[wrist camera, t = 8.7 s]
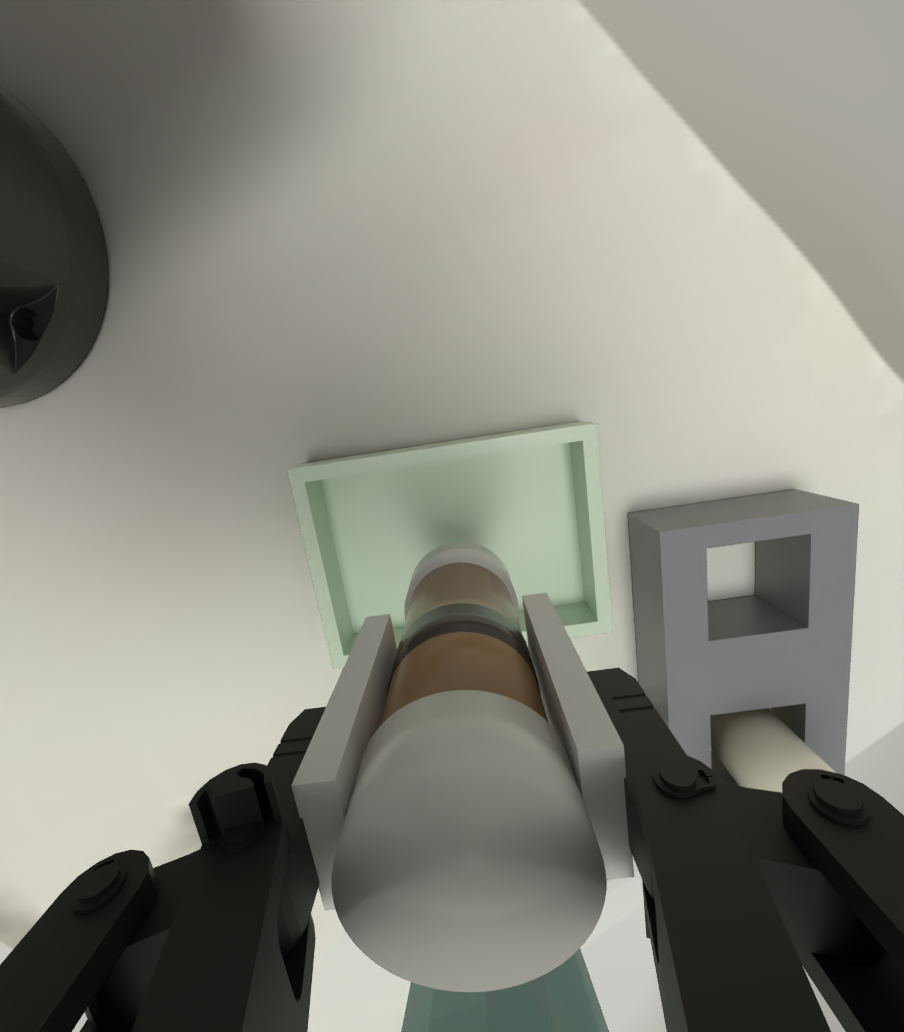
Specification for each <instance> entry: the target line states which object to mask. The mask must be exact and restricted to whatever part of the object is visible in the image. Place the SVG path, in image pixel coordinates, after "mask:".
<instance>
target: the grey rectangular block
mask: <svg viewBox="0 0 904 1032" xmlns="http://www.w3.org/2000/svg"><path fill="white" fill-rule="evenodd" d="M858 516H859V504H857V503H853V502H848V501H844V500H840V499H835V498H831V497H827V496H822V495H818V494H814V493H810V492H805V491H801V490H797V489H792V490H785V491H778V492H771V493H764V494H757V495H750V496H743V497H736V498H729V499H722V500H715V501H708V502H701V503H694V504H687V505H680V506H673V507H666V508H659V509H652V510H645V511H638V512H631V513H628V527H629V543H630V559H631V574H632V590H633V606H634V621H635V637H636V653H637V669H638V683H639V685H640V686H641V688H642V689H643V691H644V692H645V695H646V696H647V697H648V698H649V700H650V701H651V703H652V704H653V706H654V709H656V710H657V711H658V713H659V714H660V716H661V717H662V719H663V720H664V722H665V723H666V725H667V726H668V728H669V729H670V731H671V732H672V734H673V735H674V737H675V738H676V740H677V741H678V743H679V744H680V746H681V747H682V749H683V750H684V752H685V753H686V754H687V756H690V757H692V758H694V759H697V760H699V761H701V762H702V763H704V764H705V765H706V766H708V767H709V768H710V769H712V770H713V771H714V772H715V773H716V775H717V776H718V778H719V779H720V780H721V781H724V782H726V783H729V784H732V785H737V786H739V785H738V784H737V782H736V781H735V780H734V778H733V777H732V776H731V774H730V773H729V772H728V771H727V769H726V768H725V767H724V765H723V764H722V763H721V761H720V760H719V759H718V757H717V756H716V755H715V753H714V752H713V751H711V725H710V715H717V714H725V713H733V712H741V711H749V710H757V709H765V708H771V711H772V712H773V713H774V714H775V715H776V716H777V717H778V718H779V719H780V720H781V721H782V722H783V723H784V724H785V725H786V726H788V727H789V728H790V729H791V730H792V731H793V732H794V733H795V734H796V735H797V736H798V737H799V738H800V739H801V740H802V741H803V742H804V743H805V744H806V745H808V746H809V747H810V748H811V749H812V750H813V751H814V752H815V753H816V754H817V755H818V756H819V757H820V758H821V759H822V760H823V761H824V762H825V763H826V764H828V765H829V766H830V767H831V768H832V769H833V770H834V771H835V772H836V773H838V774H842V775H844V771H845V753H846V735H847V716H848V698H849V680H850V662H851V643H852V625H853V607H854V589H855V571H856V552H857V534H858ZM748 542H755V595H753V596H746V597H739V598H731V599H724V600H716V601H709V602H708V599H707V557H706V548H712V547H719V546H727V545H734V544H741V543H748Z"/></svg>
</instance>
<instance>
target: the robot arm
mask: <svg viewBox="0 0 904 1032" xmlns="http://www.w3.org/2000/svg"><path fill="white" fill-rule="evenodd" d="M106 294H107V258H106V250H105V243H104V238H103V233H102V229H101V225H100V221H99V218H98V215H97V212H96V209H95V206H94V204H93V201H92V199H91V196H90V194H89V192H88V189H87V187H86V185H85V183H84V181H83V179H82V177H81V175H80V174H79V172H78V170H77V168H76V166H75V165H74V163H73V162H72V160H71V158H70V157H69V155H68V154H67V153H66V151H65V150H64V148H63V147H62V145H61V144H60V143H59V142H58V140H57V139H56V138H55V137H54V135H53V134H52V133H51V132H50V131H49V130H48V128H47V127H46V126H45V125H44V124H43V123H42V122H41V121H40V120H39V119H38V118H37V117H36V116H35V115H34V114H33V113H32V112H31V111H30V110H29V109H27V108H26V107H25V106H24V105H23V104H22V103H20V102H19V101H18V100H17V99H15V98H14V97H13V96H11V95H10V94H9V93H7V92H6V91H4V90H3V89H2V88H0V407H8V406H13V405H17V404H21V403H24V402H27V401H30V400H32V399H35V398H37V397H39V396H41V395H43V394H45V393H47V392H49V391H50V390H52V389H53V388H55V387H56V386H58V385H59V384H60V383H62V382H63V381H64V380H65V379H66V378H67V377H68V376H69V375H70V374H71V373H72V372H73V371H74V370H75V369H76V368H77V367H78V365H79V364H80V363H81V361H82V360H83V359H84V357H85V356H86V354H87V353H88V351H89V349H90V347H91V345H92V343H93V342H94V339H95V337H96V335H97V332H98V330H99V326H100V323H101V320H102V316H103V312H104V308H105V302H106ZM522 600H523V608H524V616H525V624H526V632H527V640H528V648H529V653H530V656H531V659H532V662H533V666H534V669H535V672H536V675H537V679H538V682H539V687H540V696H541V699H542V702H543V706H544V709H545V712H546V716H547V719H548V722H549V724H550V725H551V726H552V727H553V728H554V729H555V731H556V732H557V734H558V735H559V736H560V738H561V739H562V741H563V743H564V745H565V747H566V749H567V751H568V754H569V757H570V760H571V764H572V767H573V770H574V773H575V776H576V779H577V782H578V785H579V788H580V791H581V794H582V797H583V800H584V803H585V805H586V808H587V811H588V814H589V817H590V820H591V823H592V826H593V830H594V833H595V836H596V839H597V842H598V845H599V848H600V851H601V854H602V857H603V860H604V865H605V870H606V880H608V879H617V878H626V877H634V871H633V858H632V855H633V857H634V860H635V862H636V865H637V867H638V870H639V872H640V875H641V877H642V881H643V895H644V908H645V922H646V936H647V938H650V939H651V944H652V950H653V956H654V962H655V967H656V973H657V979H658V984H659V990H660V995H661V1001H662V1007H663V1012H664V1018H665V1024H666V1029H667V1032H831V1031H830V1028H829V1026H828V1024H827V1021H826V1019H825V1017H824V1015H823V1012H822V1010H821V1008H820V1006H819V1003H818V1001H817V999H816V996H815V994H814V992H813V989H812V988H811V985H810V983H809V980H808V978H807V976H806V974H805V971H804V969H805V970H806V972H807V973H808V975H809V976H810V978H811V979H812V981H813V982H814V984H815V985H816V987H817V988H818V990H819V992H820V993H821V995H822V996H823V997H824V999H825V1000H826V1002H827V1004H828V1005H829V1007H830V1008H831V1010H832V1011H833V1013H834V1014H835V1016H836V1017H837V1019H838V1020H839V1022H840V1024H841V1025H842V1027H843V1028H844V1029H845V1031H846V1032H904V815H903V814H901V813H900V812H899V811H898V810H897V809H895V808H894V807H893V806H892V805H891V804H890V803H888V802H887V801H886V800H885V799H884V798H883V797H881V796H880V795H879V794H877V793H876V792H874V791H873V790H871V789H870V788H869V787H867V786H866V785H864V784H863V783H860V782H858V781H856V780H853V779H851V778H849V777H847V776H844V775H842V774H838V773H834V772H830V771H826V770H822V769H801V770H798V771H796V772H793V773H790V774H788V776H787V777H786V778H785V780H784V781H783V782H782V793H781V792H774V791H767V790H760V789H753V788H746V787H741V786H737V785H732V784H729V783H726V782H724V781H721V780H720V779H719V778H718V776H717V775H716V773H715V772H714V771H713V770H712V769H710V768H709V767H708V766H706V765H705V764H704V763H702V762H701V761H699V760H697V759H694V758H692V757H690V756H687V754H686V753H685V752H684V750H683V749H682V747H681V746H680V744H679V743H678V741H677V740H676V738H675V737H674V735H673V734H672V732H671V731H670V729H669V728H668V726H667V725H666V723H665V722H664V720H663V719H662V717H661V716H660V714H659V713H658V711H657V710H656V709H654V706H653V704H652V703H651V701H650V700H649V698H648V697H647V696H646V695H645V692H644V691H643V689H642V688H641V686H640V685H639V683H638V682H637V680H636V679H635V678H633V677H632V676H630V675H629V674H627V673H626V672H624V671H623V670H621V669H620V668H613V669H605V670H597V671H589V672H587V671H586V669H585V668H584V666H583V664H582V662H581V660H580V658H579V656H578V654H577V652H576V650H575V648H574V646H573V644H572V642H571V640H570V638H569V636H568V634H567V632H566V630H565V628H564V626H563V624H562V622H561V620H560V618H559V616H558V614H557V612H556V610H555V608H554V606H553V604H552V602H551V600H550V598H549V596H548V594H547V592H546V593H539V594H532V595H524V596H522ZM396 652H397V647H396V642H395V637H394V632H393V626H392V621H391V616H390V614H385V615H377V616H370V617H366V618H365V621H364V623H363V625H362V627H361V630H360V632H359V634H358V636H357V639H356V641H355V643H354V645H353V648H352V650H351V652H350V654H349V657H348V659H347V661H346V663H345V666H344V668H343V670H342V672H341V675H340V677H339V679H338V681H337V684H336V686H335V688H334V690H333V693H332V695H331V697H330V699H329V702H328V704H327V706H326V707H320V708H313V709H305V710H304V711H303V712H302V713H301V714H300V715H299V716H298V717H297V718H295V719H294V720H293V721H292V722H291V723H290V724H289V726H288V728H287V730H286V731H285V733H284V735H283V737H282V739H281V743H280V744H279V745H278V746H277V748H276V750H275V752H274V754H273V758H271V759H270V761H269V763H268V765H267V766H266V765H263V764H259V763H248V764H241V765H238V766H235V767H233V768H230V769H228V770H225V771H223V772H222V773H220V774H219V775H217V776H215V777H214V778H212V779H210V780H209V781H208V782H207V783H206V784H205V785H204V786H203V787H202V788H200V789H199V790H198V791H197V793H196V794H195V795H194V797H193V798H192V800H191V801H190V803H189V806H190V809H191V812H192V816H193V819H194V822H195V825H196V828H197V831H198V834H199V837H200V840H201V843H202V846H201V849H200V850H198V851H195V852H193V853H191V854H189V855H186V856H184V857H181V858H179V859H176V860H173V861H171V862H168V863H166V864H163V865H161V866H158V867H155V868H153V867H152V864H151V862H150V859H149V857H148V856H147V855H146V854H145V853H144V852H143V851H138V850H128V851H124V852H120V853H116V854H114V855H112V856H110V857H108V858H106V859H104V860H102V861H100V862H98V863H96V864H95V865H93V866H92V867H90V868H89V869H88V870H86V871H85V872H84V873H82V874H81V875H79V876H78V877H77V878H76V879H75V880H74V881H73V882H72V883H71V884H70V885H69V886H68V887H67V888H66V889H65V890H64V891H63V892H62V893H61V894H60V895H59V896H58V898H57V899H56V900H55V901H54V902H53V904H52V905H51V906H50V907H49V908H48V909H47V911H46V912H45V913H44V914H43V915H42V916H41V918H40V919H39V920H38V921H37V922H36V924H35V925H34V926H33V927H32V928H31V929H30V931H29V932H28V933H27V934H26V935H25V936H24V938H23V939H22V940H21V941H20V942H19V944H18V945H17V946H16V947H15V948H14V949H13V951H12V952H11V953H10V954H9V955H8V956H7V958H6V959H5V960H4V961H3V962H2V963H1V965H0V1032H72V1030H73V1029H74V1027H75V1025H76V1024H77V1023H78V1021H79V1019H80V1018H81V1016H82V1015H83V1013H84V1012H85V1013H86V1016H87V1018H88V1019H87V1021H86V1023H85V1024H84V1026H83V1028H82V1029H81V1030H80V1032H307V1029H308V1018H309V1006H310V995H311V983H312V972H313V960H314V949H315V929H314V923H313V919H312V916H311V911H312V907H313V904H314V900H315V897H316V894H317V890H318V887H319V891H320V895H321V898H322V902H323V906H324V909H325V910H332V909H335V906H334V902H333V896H332V887H331V875H332V869H333V862H334V858H335V855H336V851H337V847H338V844H339V840H340V837H341V833H342V829H343V826H344V822H345V818H346V815H347V811H348V807H349V804H350V800H351V796H352V793H353V789H354V785H355V782H356V778H357V774H358V771H359V767H360V764H361V760H362V757H363V754H364V751H365V749H366V747H367V745H368V743H369V741H370V739H371V738H372V736H373V735H374V733H375V732H376V731H377V729H378V728H379V727H380V725H381V721H382V717H383V713H384V709H385V705H386V701H387V690H388V684H389V680H390V676H391V672H392V668H393V664H394V660H395V656H396ZM803 967H804V969H803Z"/></svg>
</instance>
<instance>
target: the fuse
mask: <svg viewBox="0 0 904 1032" xmlns="http://www.w3.org/2000/svg"><path fill="white" fill-rule="evenodd" d="M710 725H711V751H713V752H714V753H715V755H716V756H717V757H718V759H719V760H720V761H721V763H722V764H723V765H724V767H725V768H726V769H727V771H728V772H729V773H730V774H731V776H732V777H733V778H734V780H735V781H736V782H737V784H738V785H739V786H741V787H746V788H753V789H760V790H767V791H774V792H781V793H782V782H783V781H784V780H785V778H786V777H787V776H788V774H790V773H793V772H796V771H798V770H801V769H822V770H826V771H830V772H834V773H836V772H835V771H834V770H833V769H832V768H831V767H830V766H829V765H828V764H826V763H825V762H824V761H823V760H822V759H821V758H820V757H819V756H818V755H817V754H816V753H815V752H814V751H813V750H812V749H811V748H810V747H809V746H808V745H806V744H805V743H804V742H803V741H802V740H801V739H800V738H799V737H798V736H797V735H796V734H795V733H794V732H793V731H792V730H791V729H790V728H789V727H788V726H786V725H785V724H784V723H783V722H782V721H781V720H780V719H779V718H778V717H777V716H776V715H775V714H774V713H773V712H772V711H771V708H765V709H757V710H749V711H741V712H733V713H725V714H717V715H710Z"/></svg>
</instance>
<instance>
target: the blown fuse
mask: <svg viewBox="0 0 904 1032" xmlns="http://www.w3.org/2000/svg"><path fill="white" fill-rule="evenodd" d="M518 612H519V609H518V600H517V596H516V593H515V590H514V587H513V584H512V581H511V578H510V575H509V572H508V570H507V568H506V566H505V565H504V563H503V562H502V560H501V559H500V558H499V557H498V556H497V555H496V554H494V553H493V552H492V551H490V550H489V549H487V548H485V547H483V546H481V545H478V544H475V543H470V542H452V543H447V544H444V545H441V546H439V547H437V548H435V549H433V550H432V551H430V552H429V553H427V554H426V555H425V556H424V557H423V558H422V559H421V560H420V562H419V563H418V565H417V566H416V568H415V570H414V572H413V574H412V578H411V581H410V585H409V588H408V592H407V596H406V600H405V608H404V613H405V620H406V623H405V627H404V631H403V635H402V639H401V641H400V643H399V646H398V649H397V652H396V656H395V660H394V664H393V668H392V672H391V676H390V680H389V684H388V690H387V701H386V705H385V709H384V713H383V717H382V721H381V725H380V727H379V728H378V729H377V731H376V732H375V733H374V735H373V736H372V738H371V739H370V741H369V743H368V745H367V747H366V749H365V751H364V754H363V757H362V760H361V764H360V767H359V771H358V774H357V778H356V782H355V785H354V789H353V793H352V796H351V800H350V804H349V807H348V811H347V815H346V818H345V822H344V826H343V829H342V833H341V837H340V840H339V844H338V847H337V851H336V855H335V858H334V862H333V869H332V875H331V887H332V896H333V902H334V906H335V909H336V912H337V915H338V917H339V920H340V922H341V923H342V925H343V927H344V929H345V931H346V932H347V934H348V935H349V937H350V938H351V939H352V941H353V942H354V943H355V944H356V945H357V947H358V948H359V949H360V950H361V951H362V952H363V953H364V954H365V955H366V956H368V957H369V958H370V959H371V960H373V961H374V962H375V963H376V964H378V965H379V966H381V967H382V968H384V969H386V970H387V971H389V972H390V973H392V974H394V975H397V976H399V977H401V978H403V979H405V980H408V981H410V982H413V983H416V984H419V985H422V986H426V987H430V988H434V989H439V990H446V991H453V992H486V991H493V990H500V989H505V988H509V987H513V986H517V985H520V984H523V983H526V982H528V981H531V980H534V979H536V978H538V977H540V976H542V975H544V974H546V973H548V972H550V971H552V970H553V969H555V968H556V967H558V966H559V965H561V964H562V963H564V962H565V961H566V960H567V959H568V958H570V957H571V956H572V955H573V954H574V953H575V952H576V951H577V950H578V949H579V948H580V947H581V946H582V945H583V944H584V943H585V941H586V940H587V938H588V937H589V936H590V934H591V933H592V931H593V930H594V928H595V926H596V924H597V922H598V920H599V918H600V915H601V912H602V909H603V906H604V902H605V895H606V870H605V865H604V860H603V857H602V854H601V851H600V848H599V845H598V842H597V839H596V836H595V833H594V830H593V826H592V823H591V820H590V817H589V814H588V811H587V808H586V805H585V803H584V800H583V797H582V794H581V791H580V788H579V785H578V782H577V779H576V776H575V773H574V770H573V767H572V764H571V760H570V757H569V754H568V751H567V749H566V747H565V745H564V743H563V741H562V739H561V738H560V736H559V735H558V734H557V732H556V731H555V729H554V728H553V727H552V726H551V725H550V724H549V722H548V719H547V716H546V712H545V709H544V706H543V702H542V699H541V696H540V687H539V682H538V679H537V675H536V672H535V669H534V666H533V662H532V659H531V656H530V653H529V649H528V646H527V644H526V641H525V639H524V637H523V635H522V632H521V629H520V625H519V622H518Z"/></svg>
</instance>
